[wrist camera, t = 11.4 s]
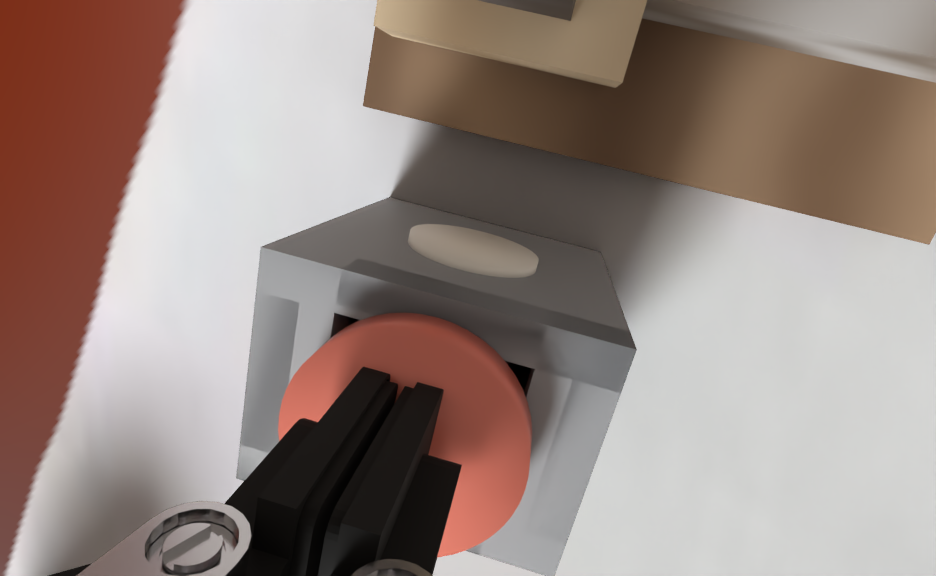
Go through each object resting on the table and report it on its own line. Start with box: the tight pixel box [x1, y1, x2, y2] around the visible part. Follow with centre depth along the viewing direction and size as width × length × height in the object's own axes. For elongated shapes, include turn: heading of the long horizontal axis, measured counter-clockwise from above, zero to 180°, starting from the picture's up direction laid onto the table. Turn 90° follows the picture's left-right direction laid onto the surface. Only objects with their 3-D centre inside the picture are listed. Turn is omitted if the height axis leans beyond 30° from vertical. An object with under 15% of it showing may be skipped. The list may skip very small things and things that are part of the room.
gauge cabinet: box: [236, 197, 637, 576], centre depth 16 cm, size 8×6×9 cm
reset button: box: [278, 313, 532, 557], centre depth 14 cm, size 5×5×6 cm
